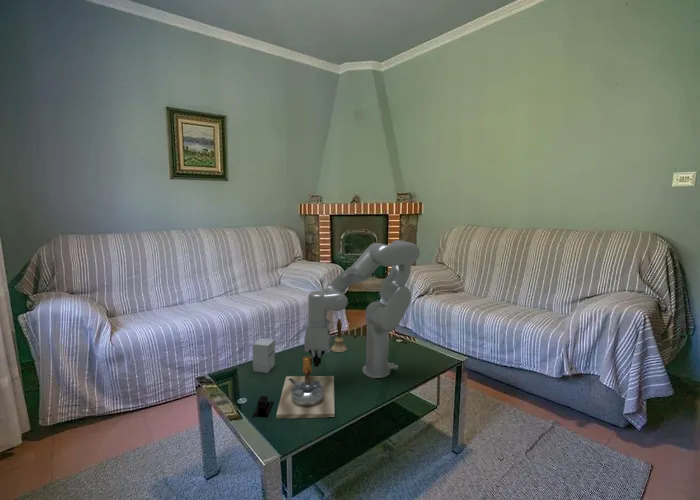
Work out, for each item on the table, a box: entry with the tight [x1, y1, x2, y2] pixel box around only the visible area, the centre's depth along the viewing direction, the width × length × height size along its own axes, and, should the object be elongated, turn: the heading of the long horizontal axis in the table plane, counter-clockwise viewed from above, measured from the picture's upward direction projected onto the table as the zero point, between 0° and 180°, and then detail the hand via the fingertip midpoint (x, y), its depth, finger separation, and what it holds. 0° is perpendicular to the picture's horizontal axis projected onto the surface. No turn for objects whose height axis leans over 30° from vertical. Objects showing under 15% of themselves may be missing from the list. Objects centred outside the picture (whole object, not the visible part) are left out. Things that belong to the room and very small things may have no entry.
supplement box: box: [252, 337, 276, 374], centre depth 152 cm, size 7×7×13 cm
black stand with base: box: [252, 395, 275, 419], centre depth 123 cm, size 12×7×5 cm, turn 178°
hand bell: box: [330, 318, 348, 353], centre depth 173 cm, size 8×8×16 cm
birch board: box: [275, 375, 336, 419], centre depth 131 cm, size 20×26×2 cm
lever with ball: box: [291, 355, 324, 407], centre depth 132 cm, size 22×12×9 cm, turn 7°
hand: (316, 365), depth 141 cm, fingers closed
